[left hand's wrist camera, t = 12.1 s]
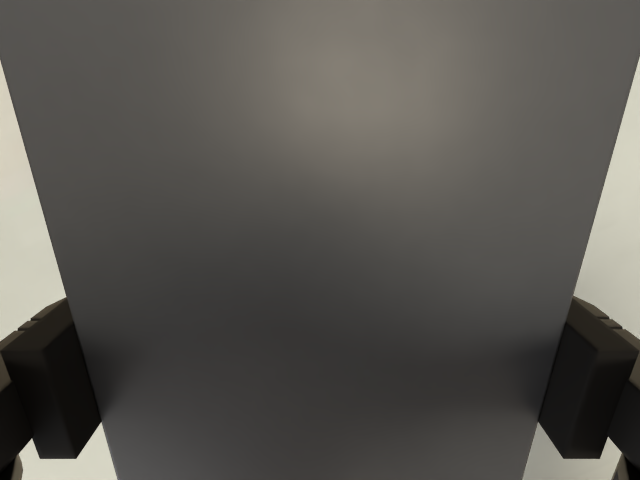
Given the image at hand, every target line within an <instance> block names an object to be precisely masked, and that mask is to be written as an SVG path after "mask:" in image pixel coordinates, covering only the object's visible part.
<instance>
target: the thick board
mask: <svg viewBox="0 0 640 480" xmlns="http://www.w3.org/2000/svg"><path fill="white" fill-rule="evenodd" d="M639 57H640V0H0V60H1V64H2V67H3V71H4V75H5V78H6V82H7V85H8V89H9V92H10V96H11V100H12V103H13V107H14V110H15V114H16V117H17V121H18V125H19V128H20V132H21V135H22V139H23V143H24V146H25V150H26V153H27V157H28V160H29V164H30V168H31V171H32V175H33V178H34V182H35V185H36V189H37V193H38V196H39V200H40V203H41V207H42V211H43V214H44V218H45V221H46V225H47V228H48V232H49V236H50V239H51V243H52V246H53V250H54V253H55V257H56V261H57V264H58V268H59V271H60V275H61V279H62V282H63V286H64V289H65V293H66V296H67V300H68V304H69V307H70V311H71V314H72V318H73V321H74V325H75V329H76V332H77V336H78V339H79V343H80V346H81V350H82V354H83V357H84V361H85V364H86V368H87V372H88V375H89V379H90V382H91V386H92V389H93V393H94V397H95V400H96V404H97V407H98V411H99V414H100V418H101V422H102V425H103V429H104V432H105V436H106V440H107V443H108V447H109V450H110V454H111V457H112V461H113V465H114V468H115V472H116V475H117V479H118V480H522V477H523V473H524V470H525V466H526V463H527V459H528V455H529V452H530V448H531V445H532V441H533V438H534V434H535V430H536V427H537V423H538V420H539V416H540V412H541V409H542V405H543V402H544V398H545V394H546V391H547V387H548V384H549V380H550V376H551V373H552V369H553V366H554V362H555V358H556V355H557V351H558V348H559V344H560V341H561V337H562V333H563V330H564V326H565V323H566V319H567V315H568V312H569V308H570V305H571V301H572V297H573V294H574V290H575V287H576V283H577V279H578V276H579V272H580V269H581V265H582V261H583V258H584V254H585V251H586V247H587V244H588V240H589V236H590V233H591V229H592V226H593V222H594V218H595V215H596V211H597V208H598V204H599V200H600V197H601V193H602V190H603V186H604V182H605V179H606V175H607V172H608V168H609V164H610V161H611V157H612V154H613V150H614V146H615V143H616V139H617V136H618V132H619V129H620V125H621V121H622V118H623V114H624V111H625V107H626V103H627V100H628V96H629V93H630V89H631V85H632V82H633V78H634V75H635V71H636V67H637V64H638V60H639Z"/></svg>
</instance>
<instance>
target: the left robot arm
mask: <svg viewBox="0 0 640 480" xmlns="http://www.w3.org/2000/svg"><path fill="white" fill-rule="evenodd" d="M538 422H539V423H540V425H541V426H542V428H543V429H544V431H545V432H546V434H547V435H548V437H549V438H550V440H551V441H552V442H553V444H554V445H555V447H556V448H557V450H558V451H559V453H560V454H561V456H562V457H563V459H600V457H601V454H602V451H603V448H604V446H605V443H606V440H607V438H608V437H609V438H610V439H611V440H612V441H613V443H614V444H615V445H616V446H617V447H618V448H619V450H620V451H621V452H622V454H621V457H620V459H619V462H618V464H617V467H616V469H615V472H614V474H613V477H612V479H611V480H640V340H639V339H638V338H636V337H635V336H634V335H632V334H631V333H630V332H628V331H627V330H626V329H622V326H620V325H619V324H618V323H617V322H615V321H614V320H613V319H609V316H607V315H606V314H605V313H603V312H602V311H601V310H599V309H598V308H597V307H595V306H594V305H592V304H590V303H588V302H585V301H583V300H581V299H579V298H577V297H575V296H573V297H572V301H571V305H570V308H569V312H568V315H567V319H566V323H565V326H564V330H563V333H562V337H561V341H560V344H559V348H558V351H557V355H556V358H555V362H554V366H553V369H552V373H551V376H550V380H549V384H548V387H547V391H546V394H545V398H544V402H543V405H542V409H541V412H540V416H539V420H538ZM100 423H101V418H100V414H99V411H98V407H97V404H96V400H95V397H94V393H93V389H92V386H91V382H90V379H89V375H88V372H87V368H86V364H85V361H84V357H83V354H82V350H81V346H80V343H79V339H78V336H77V332H76V329H75V325H74V321H73V318H72V314H71V311H70V307H69V304H68V300H67V297H66V298H64V299H62V300H60V301H57V302H55V303H53V304H51V305H49V306H47V307H45V308H44V309H43V310H41V311H40V312H39V313H37V314H36V315H35V316H33V317H32V318H31V321H27V322H26V323H24V324H23V325H22V326H20V327H19V328H18V331H14V332H12V333H11V334H10V335H8V336H7V337H6V338H4V339H3V340H2V341H0V480H21V479H22V473H23V468H22V462H21V459H20V457H19V453H20V451H21V450H22V449H23V448H24V447H25V446H26V444H27V443H28V442H29V441H30V440H31V439H33V441H34V444H35V447H36V450H37V452H38V455H39V458H40V459H76V458H77V457H78V455H79V454H80V452H81V451H82V449H83V448H84V446H85V445H86V443H87V442H88V441H89V439H90V438H91V436H92V435H93V433H94V432H95V430H96V429H97V427H98V426H99V424H100Z"/></svg>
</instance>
